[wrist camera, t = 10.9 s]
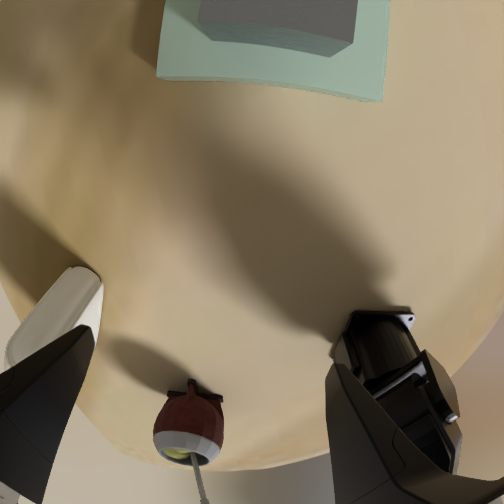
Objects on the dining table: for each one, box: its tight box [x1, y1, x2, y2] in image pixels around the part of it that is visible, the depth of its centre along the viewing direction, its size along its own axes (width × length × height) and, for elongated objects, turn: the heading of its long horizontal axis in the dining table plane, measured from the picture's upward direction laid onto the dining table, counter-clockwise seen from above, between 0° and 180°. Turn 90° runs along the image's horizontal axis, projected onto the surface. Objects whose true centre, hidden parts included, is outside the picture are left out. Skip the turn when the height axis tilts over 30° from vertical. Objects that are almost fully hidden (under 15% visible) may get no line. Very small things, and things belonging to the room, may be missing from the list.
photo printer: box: [4, 266, 103, 371], centre depth 19 cm, size 10×4×12 cm, turn 154°
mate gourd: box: [153, 379, 224, 504], centre depth 23 cm, size 8×8×15 cm
